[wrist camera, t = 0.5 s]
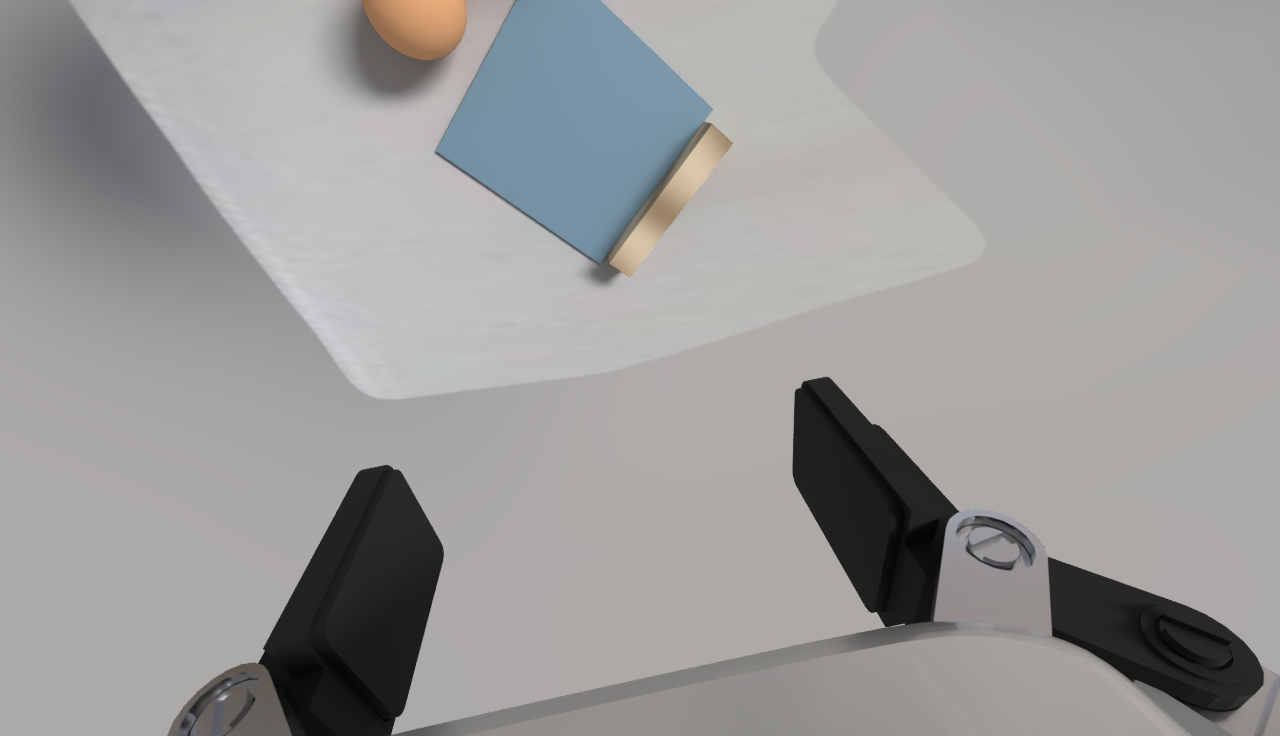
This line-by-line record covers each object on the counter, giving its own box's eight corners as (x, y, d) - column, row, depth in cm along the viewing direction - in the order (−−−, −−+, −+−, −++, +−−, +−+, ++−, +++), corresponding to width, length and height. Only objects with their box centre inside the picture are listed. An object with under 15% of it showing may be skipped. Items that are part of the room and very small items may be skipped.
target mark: (544, -53, 29) (544, -53, 28) (712, 109, 34) (713, 109, 34) (436, 150, 33) (435, 151, 33) (599, 263, 39) (599, 264, 39)
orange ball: (403, -75, 27) (369, -108, 23) (490, 0, 30) (475, -16, 25) (363, 17, 29) (324, 5, 24) (448, 82, 31) (427, 81, 27)
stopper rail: (703, 121, 35) (712, 123, 32) (722, 139, 35) (733, 143, 33) (606, 253, 39) (609, 263, 36) (626, 267, 39) (629, 277, 37)
